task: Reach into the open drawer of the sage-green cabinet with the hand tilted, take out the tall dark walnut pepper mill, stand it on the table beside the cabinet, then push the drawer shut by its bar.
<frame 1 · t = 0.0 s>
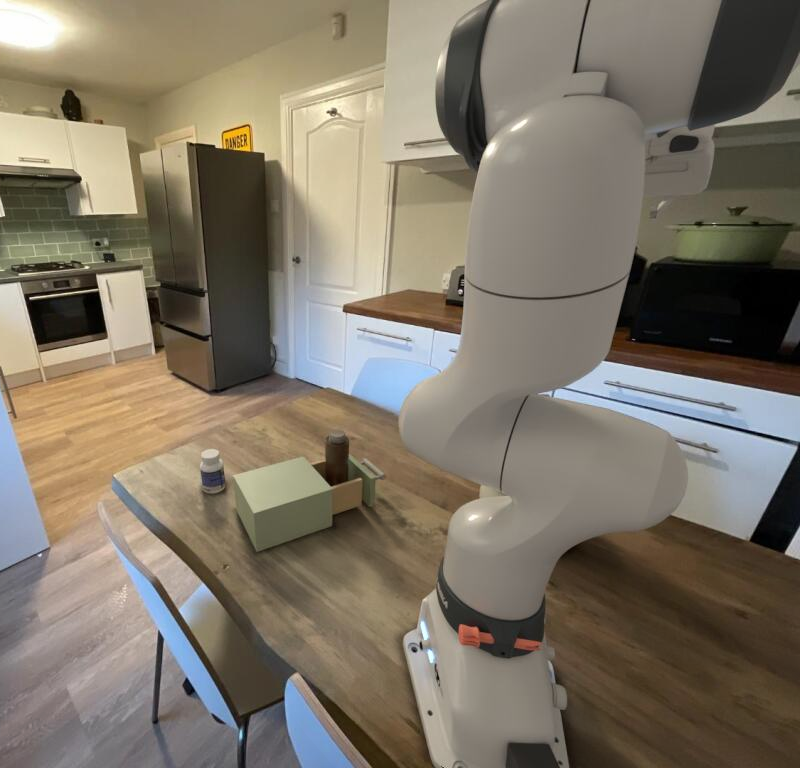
hand: (620, 218, 74), 54 cm above the table, tool tilted 30°, fingers open, 8 cm apart
pepper mill: (336, 492, 86), point 2 cm above the table, touching drawer
kettle: (526, 522, 79), on the table
drawer: (338, 482, 85), point 4 cm above the table, slide at 9.0 cm, touching pepper mill
cabinet: (282, 517, 82), on the table
pill bottle: (214, 487, 93), on the table
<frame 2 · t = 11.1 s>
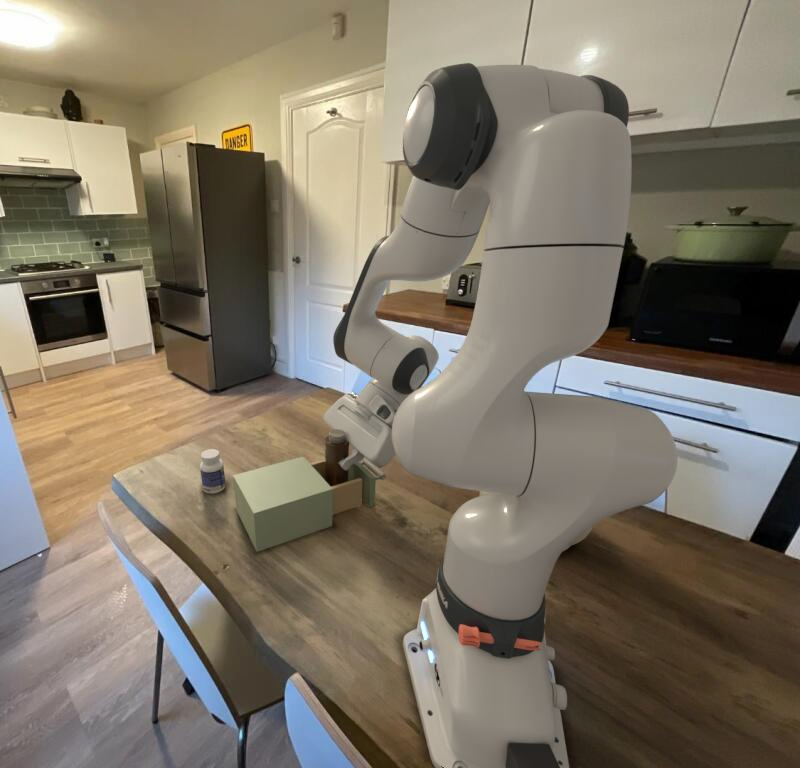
hand: (334, 459, 83), 10 cm above the table, tool tilted 45°, fingers closed on pepper mill, 5 cm apart
pepper mill: (336, 492, 86), point 2 cm above the table, touching drawer, gripper
everything else where it was.
when the fingers open (8 cm above the table, at t = 20.0 s): pepper mill stays where it is, on the table.
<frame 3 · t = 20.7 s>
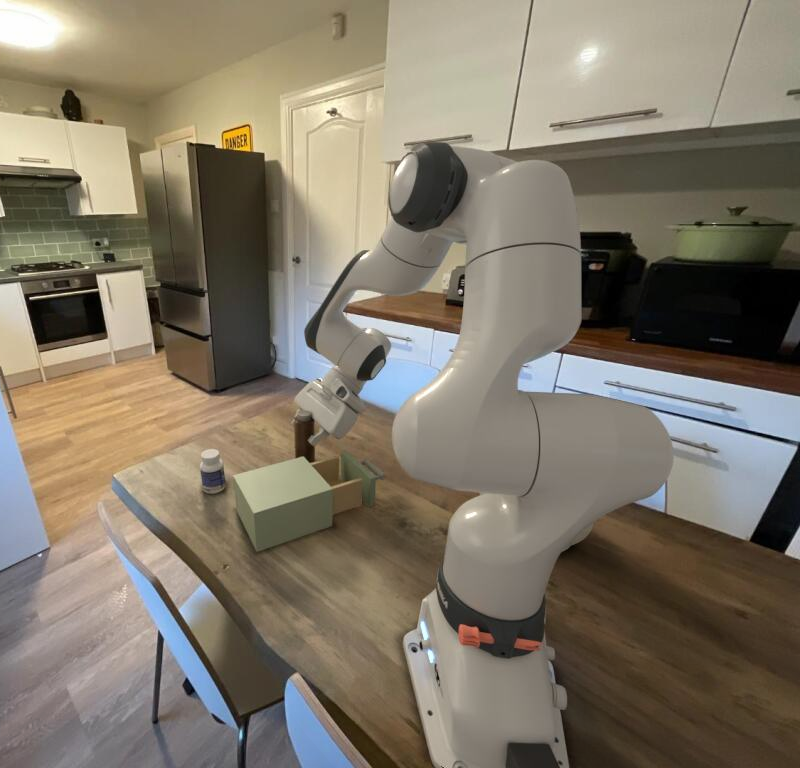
hand: (302, 434, 96), 9 cm above the table, tool tilted 45°, fingers open, 8 cm apart
pepper mill: (305, 465, 100), on the table
drawer: (338, 482, 85), point 4 cm above the table, slide at 9.0 cm
everything else where it was.
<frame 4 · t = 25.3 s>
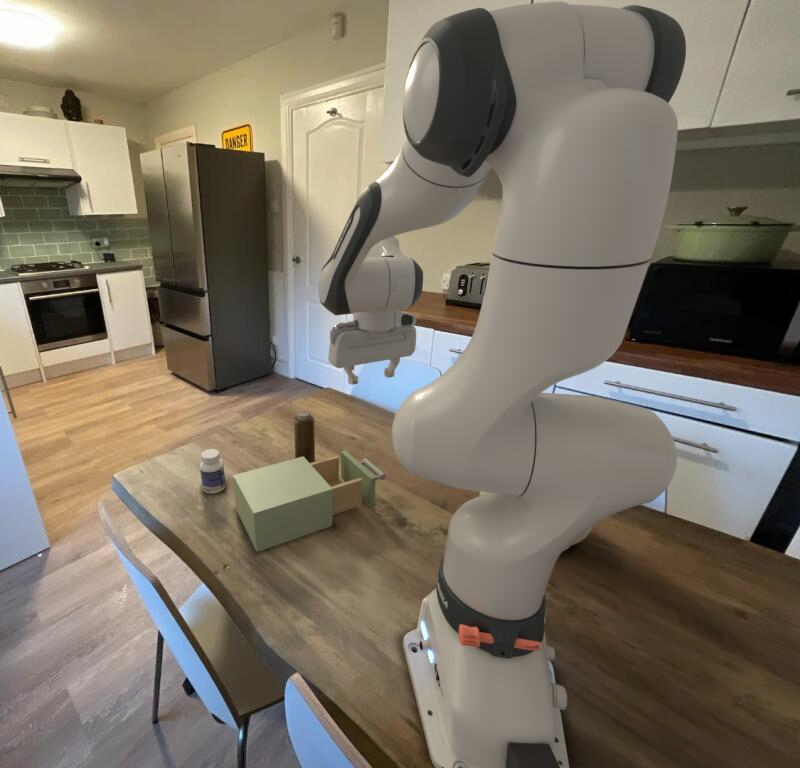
hand: (371, 380, 90), 23 cm above the table, tool pointing down, fingers open, 8 cm apart
nothing on the table moved.
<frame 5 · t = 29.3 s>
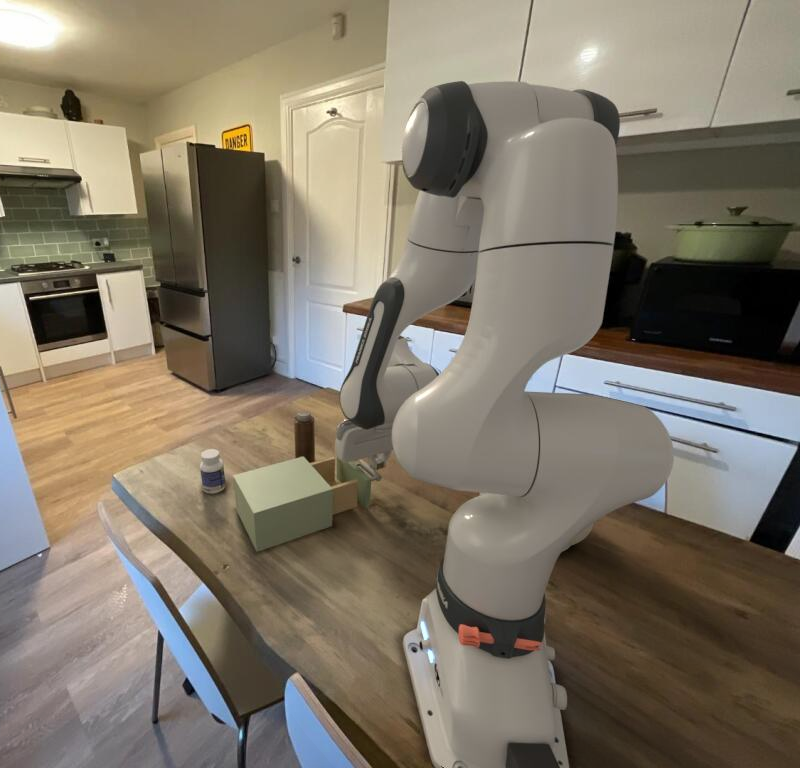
hand: (377, 467, 89), 5 cm above the table, tool pointing down, fingers closed
drawer: (334, 484, 85), point 4 cm above the table, slide at 7.9 cm, touching gripper
everything else where it was.
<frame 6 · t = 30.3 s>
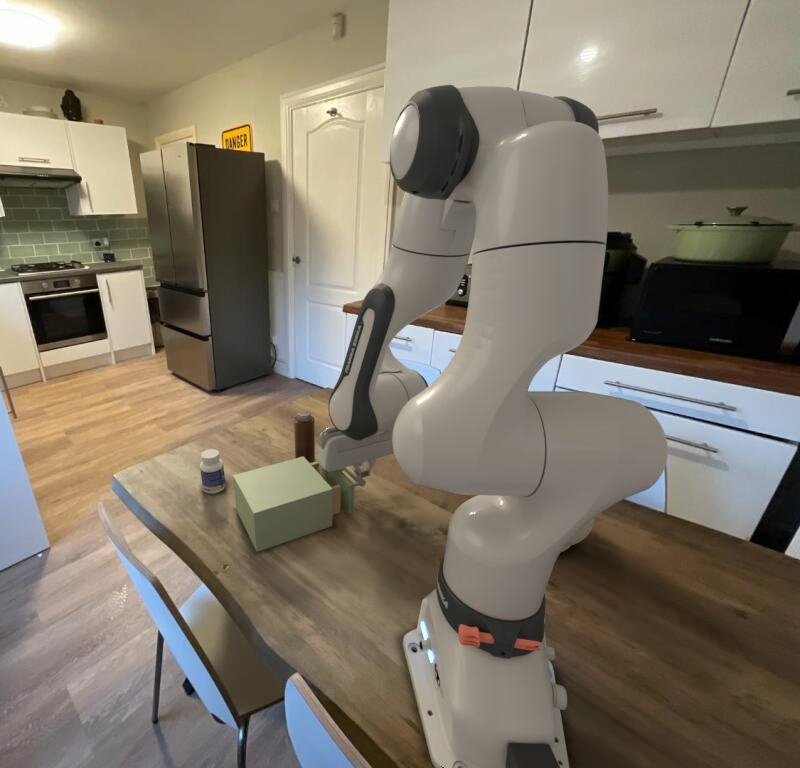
hand: (362, 476, 88), 4 cm above the table, tool pointing down, fingers closed
drawer: (317, 489, 84), point 4 cm above the table, slide at 4.0 cm, touching gripper
everything else where it was.
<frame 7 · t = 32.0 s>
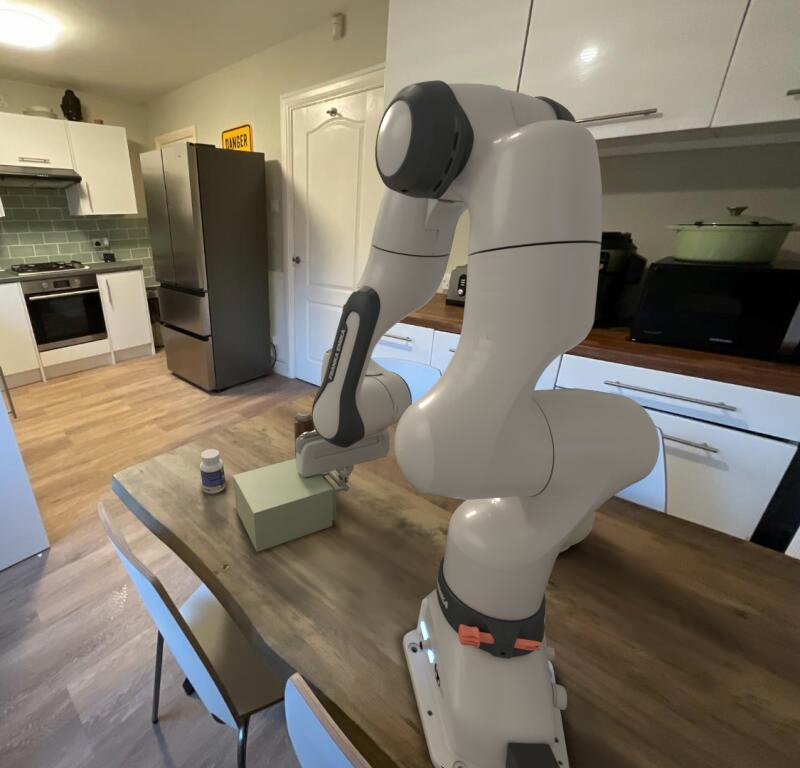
hand: (343, 482, 86), 4 cm above the table, tool pointing down, fingers closed, pressing on drawer
drawer: (300, 494, 82), point 4 cm above the table, slide at 0.0 cm, touching cabinet, gripper
everything else where it was.
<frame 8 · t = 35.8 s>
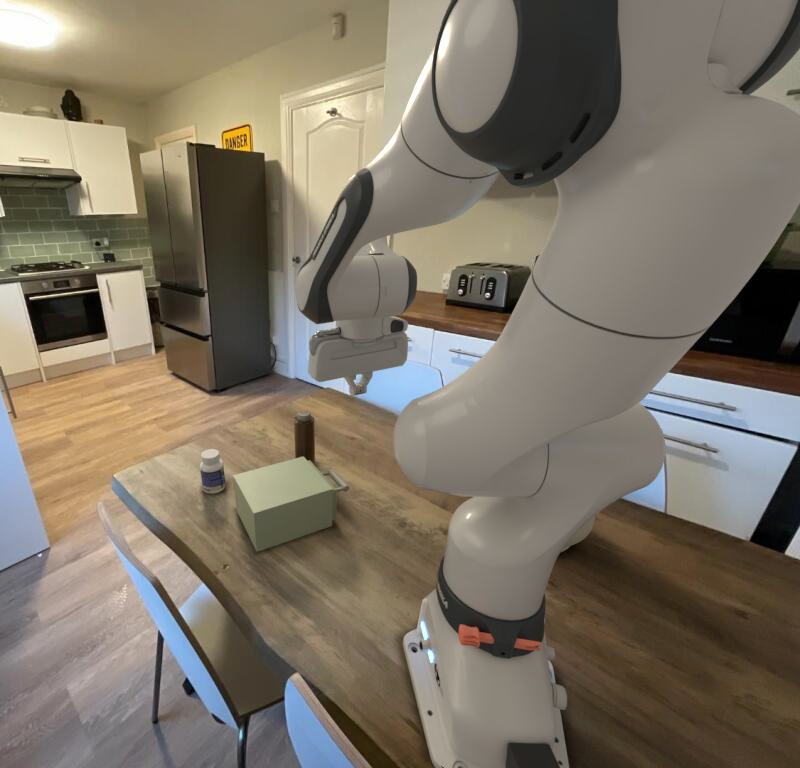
hand: (357, 393, 80), 24 cm above the table, tool pointing down, fingers closed
drawer: (300, 494, 82), point 4 cm above the table, slide at 0.0 cm, touching cabinet
everything else where it was.
at the end: pepper mill inside the target area (0.1 cm from its centre), on the table; pepper mill tilted 0°; drawer slide at 0.0 cm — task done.
